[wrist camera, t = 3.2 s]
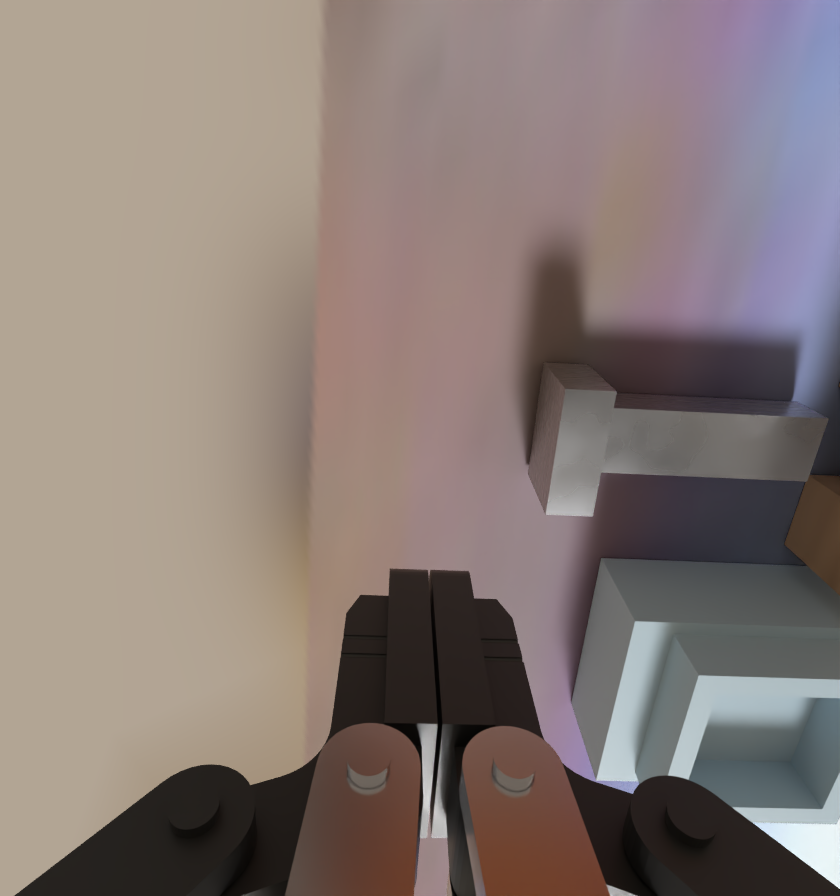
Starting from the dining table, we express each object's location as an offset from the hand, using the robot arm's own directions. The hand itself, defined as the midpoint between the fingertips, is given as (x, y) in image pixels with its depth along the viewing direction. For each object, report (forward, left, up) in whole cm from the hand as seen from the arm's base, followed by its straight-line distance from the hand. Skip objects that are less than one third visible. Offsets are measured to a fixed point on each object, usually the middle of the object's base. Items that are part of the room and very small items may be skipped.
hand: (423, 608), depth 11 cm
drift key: (-10, 0, -12) cm, 15 cm away
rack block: (-13, +10, -12) cm, 20 cm away
